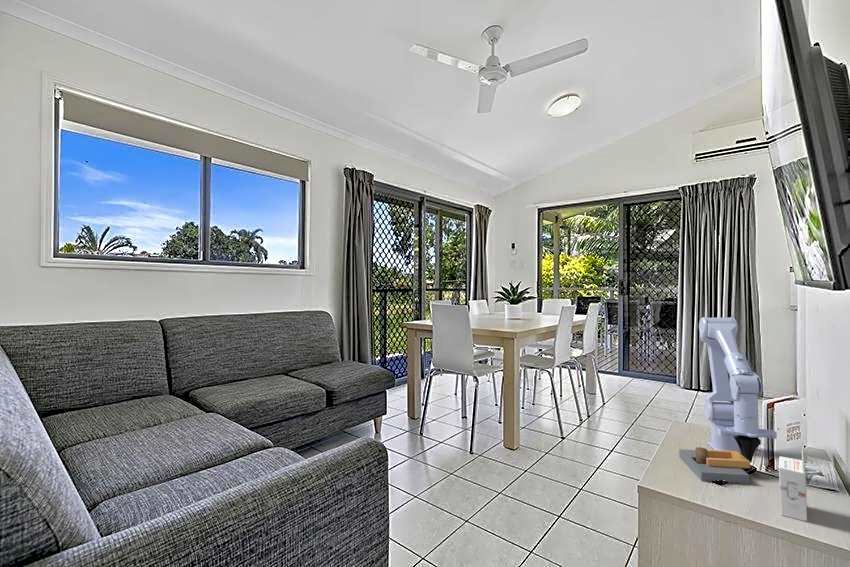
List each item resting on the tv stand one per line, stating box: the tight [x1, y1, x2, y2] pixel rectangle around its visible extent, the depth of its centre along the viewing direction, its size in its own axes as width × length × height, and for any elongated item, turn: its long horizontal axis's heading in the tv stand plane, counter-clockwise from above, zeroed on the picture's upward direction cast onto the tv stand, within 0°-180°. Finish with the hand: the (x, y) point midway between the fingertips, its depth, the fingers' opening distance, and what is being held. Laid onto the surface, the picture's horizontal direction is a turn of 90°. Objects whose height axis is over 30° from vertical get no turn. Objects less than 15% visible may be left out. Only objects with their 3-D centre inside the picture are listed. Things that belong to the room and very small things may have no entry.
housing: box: [678, 449, 750, 485], centre depth 124 cm, size 12×16×2 cm
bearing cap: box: [706, 449, 751, 469], centre depth 124 cm, size 11×7×2 cm, turn 78°
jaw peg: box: [695, 446, 708, 464], centre depth 125 cm, size 3×3×6 cm
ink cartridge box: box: [778, 449, 808, 522], centre depth 102 cm, size 9×5×15 cm, turn 139°
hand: (747, 460), depth 122 cm, fingers closed
